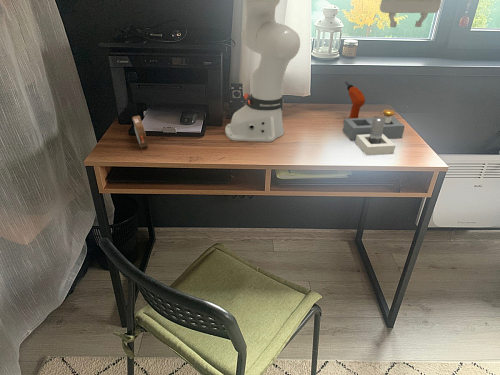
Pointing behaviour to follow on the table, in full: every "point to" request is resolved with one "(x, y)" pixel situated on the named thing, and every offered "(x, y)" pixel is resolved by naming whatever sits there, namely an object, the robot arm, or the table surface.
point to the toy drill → (355, 100)
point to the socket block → (364, 125)
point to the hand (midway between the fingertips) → (405, 27)
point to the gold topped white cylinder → (388, 115)
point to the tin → (140, 131)
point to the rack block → (375, 145)
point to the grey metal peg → (376, 130)
